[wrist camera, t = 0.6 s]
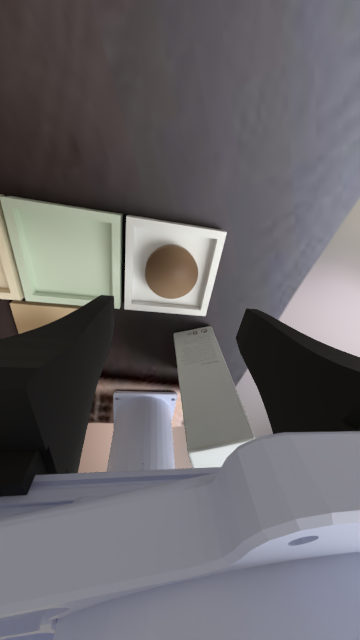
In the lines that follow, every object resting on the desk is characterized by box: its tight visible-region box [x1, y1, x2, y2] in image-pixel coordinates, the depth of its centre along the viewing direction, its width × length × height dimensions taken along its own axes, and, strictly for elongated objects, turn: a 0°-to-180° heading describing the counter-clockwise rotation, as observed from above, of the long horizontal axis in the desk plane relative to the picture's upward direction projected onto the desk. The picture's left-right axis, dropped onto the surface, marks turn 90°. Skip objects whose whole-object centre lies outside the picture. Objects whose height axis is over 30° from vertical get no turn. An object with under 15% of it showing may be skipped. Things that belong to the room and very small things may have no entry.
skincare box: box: [173, 326, 255, 468], centre depth 19 cm, size 6×4×12 cm
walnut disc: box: [145, 245, 198, 299], centre depth 18 cm, size 4×4×1 cm
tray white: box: [124, 215, 227, 316], centre depth 18 cm, size 8×8×1 cm
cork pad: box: [10, 300, 82, 334], centre depth 21 cm, size 7×7×1 cm
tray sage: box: [0, 196, 123, 309], centre depth 17 cm, size 8×8×1 cm
